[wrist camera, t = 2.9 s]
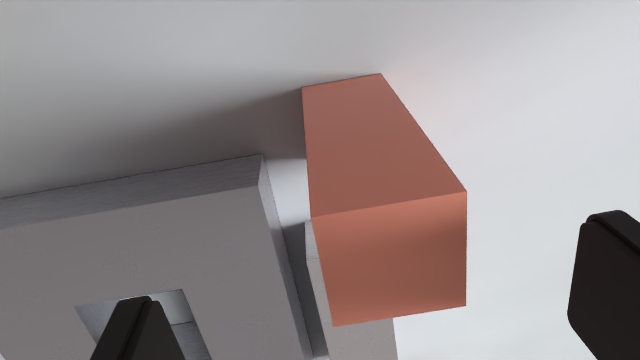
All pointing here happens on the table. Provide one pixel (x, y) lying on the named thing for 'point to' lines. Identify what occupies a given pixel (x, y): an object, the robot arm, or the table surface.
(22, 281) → the square hole plate
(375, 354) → the tilted grey slab block
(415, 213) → the pin
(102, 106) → the table surface
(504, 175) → the table surface
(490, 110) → the table surface
